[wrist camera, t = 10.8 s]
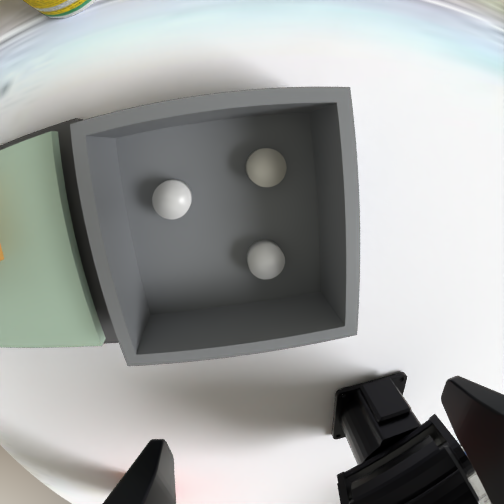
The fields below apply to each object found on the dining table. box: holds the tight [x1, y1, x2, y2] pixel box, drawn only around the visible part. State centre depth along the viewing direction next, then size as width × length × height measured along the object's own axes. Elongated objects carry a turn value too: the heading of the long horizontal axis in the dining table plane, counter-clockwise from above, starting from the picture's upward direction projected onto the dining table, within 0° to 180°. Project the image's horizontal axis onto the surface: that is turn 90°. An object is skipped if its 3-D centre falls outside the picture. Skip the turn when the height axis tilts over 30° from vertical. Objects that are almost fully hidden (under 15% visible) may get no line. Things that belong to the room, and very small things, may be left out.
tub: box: [70, 87, 360, 366], centre depth 16 cm, size 12×12×5 cm
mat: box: [0, 118, 119, 343], centre depth 17 cm, size 14×14×1 cm
